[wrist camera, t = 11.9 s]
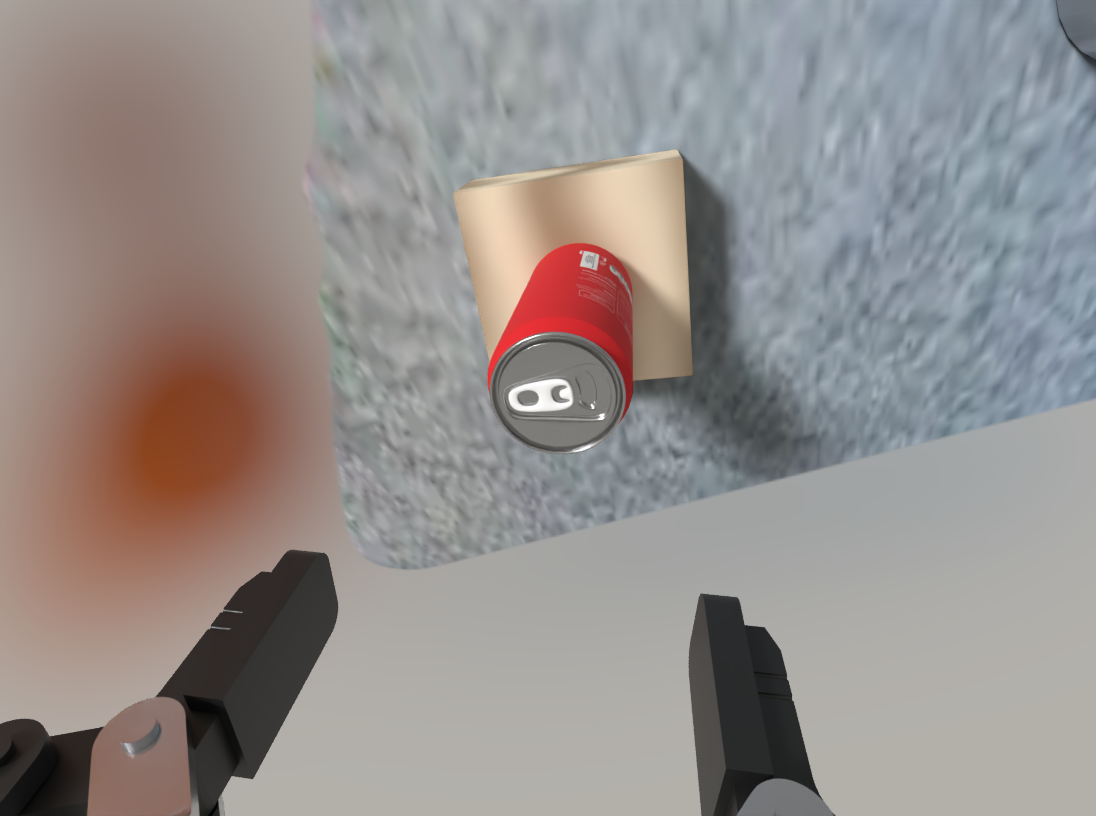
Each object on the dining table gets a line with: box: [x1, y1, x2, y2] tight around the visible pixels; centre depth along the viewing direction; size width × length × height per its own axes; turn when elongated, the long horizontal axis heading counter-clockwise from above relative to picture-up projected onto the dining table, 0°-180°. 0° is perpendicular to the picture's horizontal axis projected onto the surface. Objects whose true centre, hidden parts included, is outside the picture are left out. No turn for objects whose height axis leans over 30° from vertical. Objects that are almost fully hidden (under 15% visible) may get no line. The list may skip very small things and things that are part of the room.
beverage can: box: [488, 243, 633, 454], centre depth 26 cm, size 5×5×12 cm
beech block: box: [453, 149, 693, 381], centre depth 33 cm, size 11×11×4 cm
